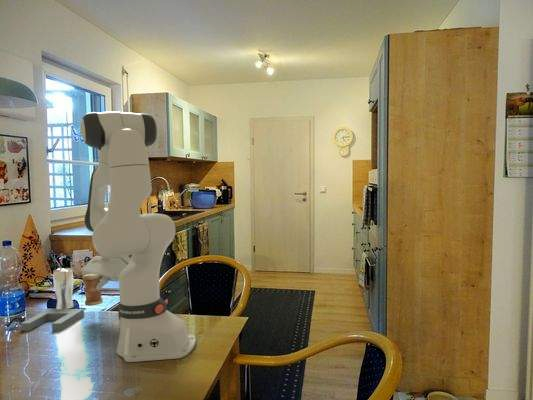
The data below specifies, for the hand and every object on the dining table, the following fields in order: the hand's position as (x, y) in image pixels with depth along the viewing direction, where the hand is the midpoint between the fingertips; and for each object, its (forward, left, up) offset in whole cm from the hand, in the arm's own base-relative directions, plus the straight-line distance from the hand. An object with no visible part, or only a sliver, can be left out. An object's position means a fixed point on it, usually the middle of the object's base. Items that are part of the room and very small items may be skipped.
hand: (91, 288), depth 138 cm
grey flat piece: (+13, +2, -12) cm, 18 cm away
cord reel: (0, 0, -5) cm, 5 cm away
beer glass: (+19, -14, -12) cm, 26 cm away
